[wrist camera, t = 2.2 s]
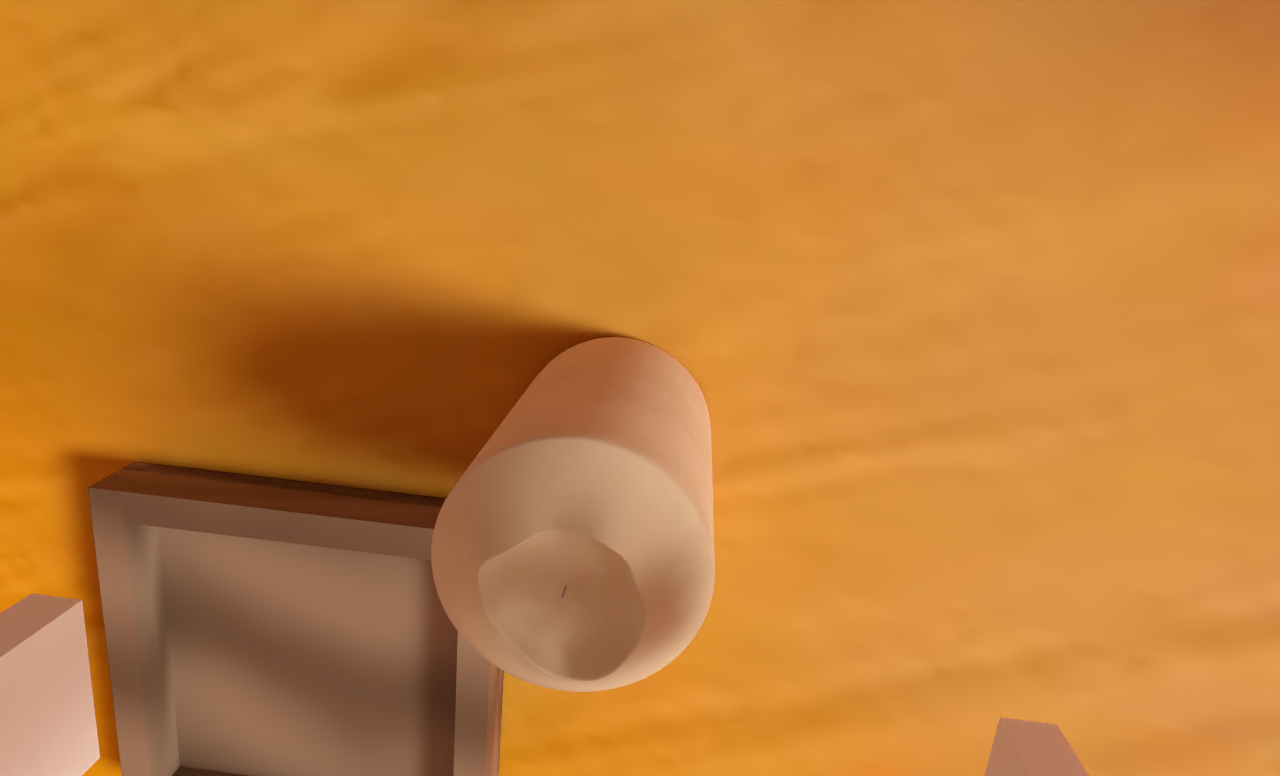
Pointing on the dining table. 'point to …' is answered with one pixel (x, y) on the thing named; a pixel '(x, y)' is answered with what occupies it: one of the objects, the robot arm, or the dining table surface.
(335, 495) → the tray
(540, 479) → the candle
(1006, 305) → the dining table surface
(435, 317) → the dining table surface
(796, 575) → the dining table surface
